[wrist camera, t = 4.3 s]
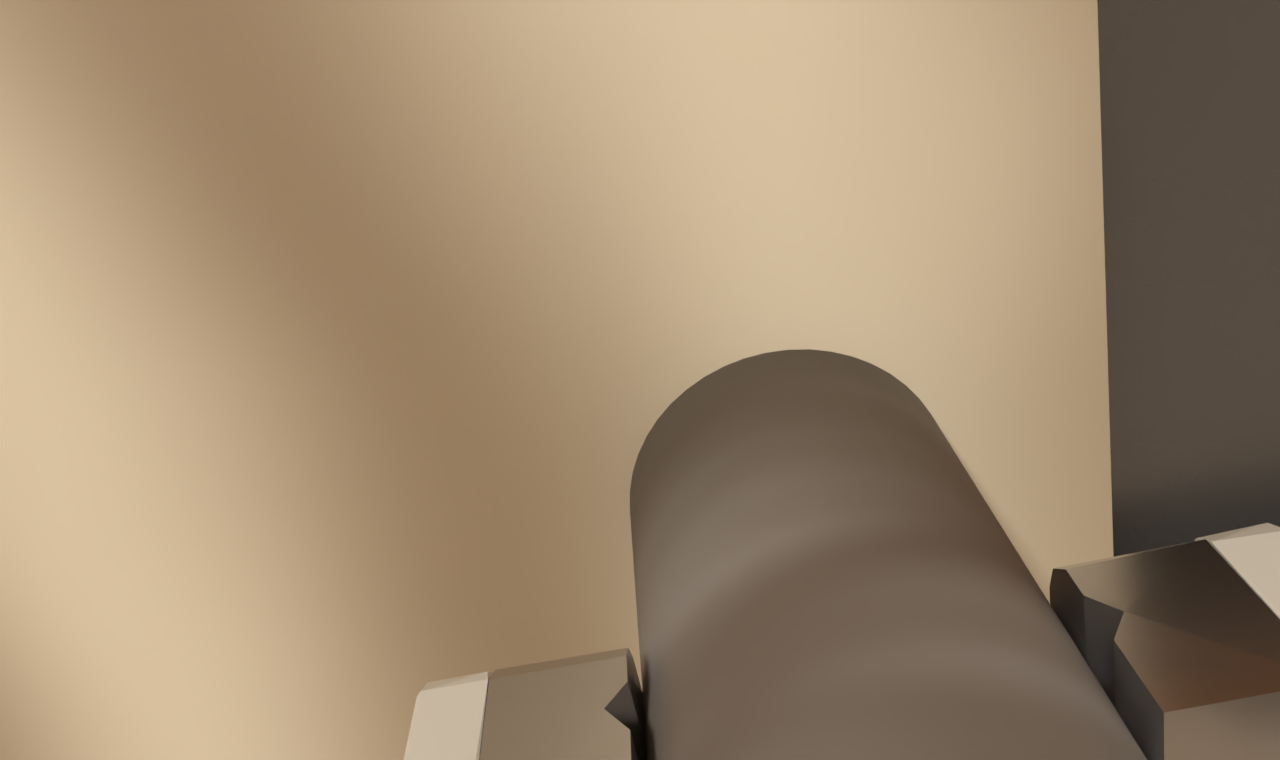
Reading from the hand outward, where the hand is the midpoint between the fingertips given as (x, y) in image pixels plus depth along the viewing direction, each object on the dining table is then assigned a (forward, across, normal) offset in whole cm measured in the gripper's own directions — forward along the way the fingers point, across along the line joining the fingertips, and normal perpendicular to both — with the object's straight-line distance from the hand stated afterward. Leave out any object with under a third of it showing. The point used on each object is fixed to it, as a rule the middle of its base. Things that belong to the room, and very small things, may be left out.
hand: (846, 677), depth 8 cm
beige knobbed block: (+10, +3, 0) cm, 10 cm away
